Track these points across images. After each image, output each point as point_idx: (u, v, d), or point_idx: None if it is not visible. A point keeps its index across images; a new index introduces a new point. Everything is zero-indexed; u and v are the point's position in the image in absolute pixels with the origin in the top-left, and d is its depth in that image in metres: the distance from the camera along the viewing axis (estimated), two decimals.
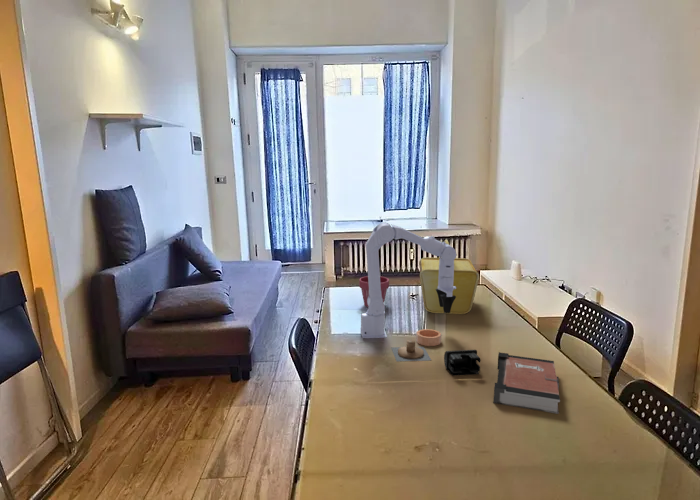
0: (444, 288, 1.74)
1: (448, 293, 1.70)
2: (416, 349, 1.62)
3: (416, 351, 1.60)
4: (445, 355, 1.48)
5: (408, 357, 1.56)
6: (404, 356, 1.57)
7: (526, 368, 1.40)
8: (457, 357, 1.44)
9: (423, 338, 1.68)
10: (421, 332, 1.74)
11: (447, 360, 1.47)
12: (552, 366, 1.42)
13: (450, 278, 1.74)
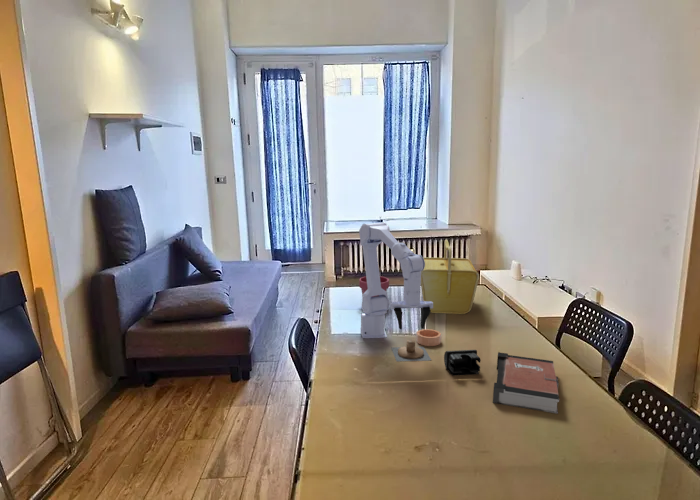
0: (403, 301, 1.58)
1: None
2: (416, 349, 1.62)
3: (416, 350, 1.60)
4: (445, 355, 1.48)
5: (408, 357, 1.56)
6: (404, 356, 1.57)
7: (525, 368, 1.41)
8: (457, 357, 1.44)
9: (423, 338, 1.68)
10: (421, 332, 1.74)
11: (447, 360, 1.47)
12: (551, 366, 1.42)
13: (405, 292, 1.55)
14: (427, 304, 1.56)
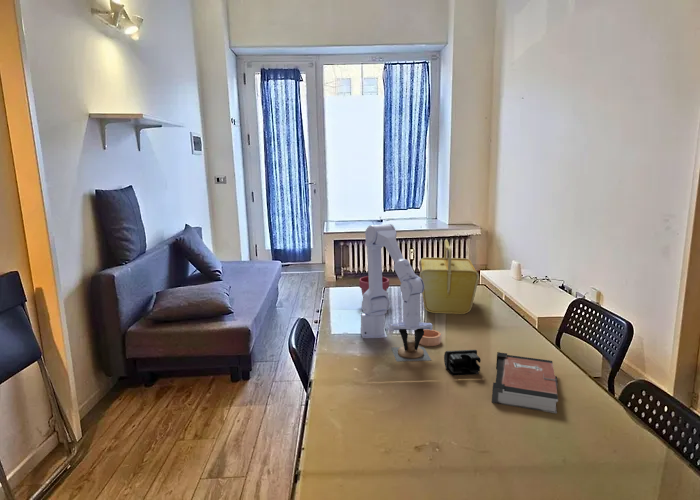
0: (403, 323, 1.59)
1: (390, 326, 1.59)
2: None
3: (416, 350, 1.60)
4: (445, 355, 1.48)
5: (408, 357, 1.56)
6: (404, 356, 1.57)
7: (524, 367, 1.41)
8: (457, 357, 1.44)
9: (423, 338, 1.68)
10: None
11: (447, 360, 1.47)
12: (551, 366, 1.42)
13: (404, 314, 1.56)
14: (426, 326, 1.58)
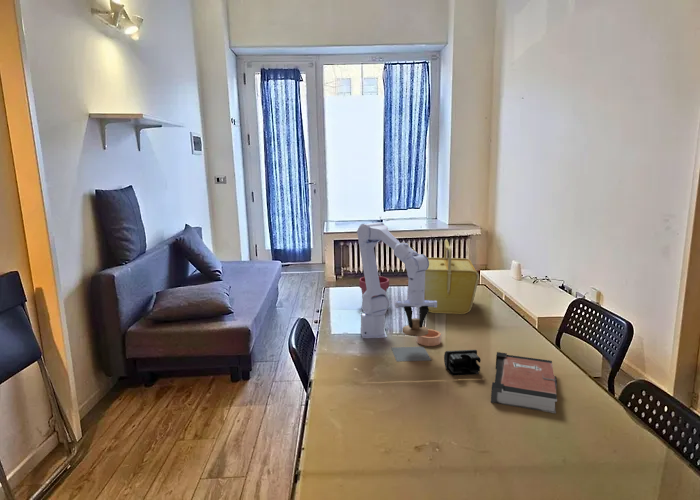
0: (407, 300, 1.61)
1: (395, 303, 1.60)
2: None
3: (421, 329, 1.61)
4: (445, 355, 1.48)
5: (413, 334, 1.57)
6: (409, 333, 1.58)
7: (524, 367, 1.41)
8: (457, 357, 1.44)
9: (423, 338, 1.68)
10: None
11: (447, 360, 1.47)
12: (550, 366, 1.42)
13: (409, 291, 1.58)
14: (431, 303, 1.59)
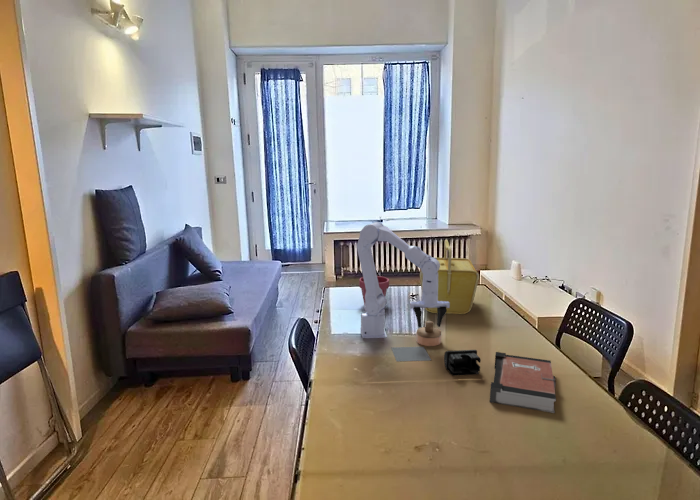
0: (421, 301, 1.70)
1: (410, 304, 1.69)
2: (434, 330, 1.72)
3: (434, 331, 1.71)
4: (445, 355, 1.48)
5: (426, 336, 1.67)
6: (422, 335, 1.67)
7: (523, 367, 1.41)
8: (457, 357, 1.44)
9: (423, 338, 1.68)
10: None
11: (447, 360, 1.47)
12: (549, 366, 1.42)
13: (423, 293, 1.67)
14: (444, 304, 1.68)
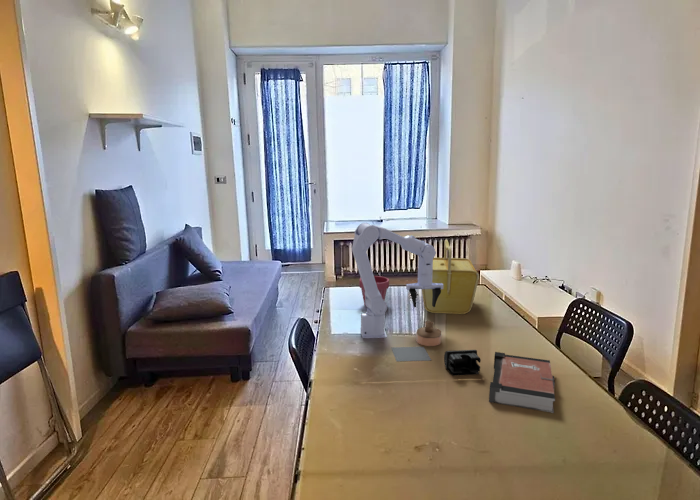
0: (417, 283, 1.82)
1: (406, 285, 1.81)
2: (434, 330, 1.72)
3: (434, 331, 1.71)
4: (445, 355, 1.48)
5: (426, 336, 1.67)
6: (422, 335, 1.67)
7: (522, 367, 1.41)
8: (457, 357, 1.44)
9: (423, 338, 1.68)
10: None
11: (447, 360, 1.47)
12: (548, 365, 1.42)
13: (419, 275, 1.79)
14: (438, 285, 1.80)
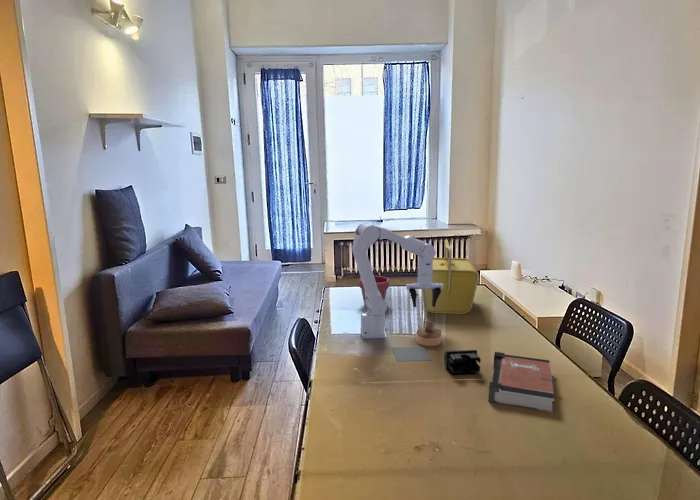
0: (417, 283, 1.82)
1: (406, 285, 1.81)
2: (434, 330, 1.72)
3: (434, 331, 1.71)
4: (445, 355, 1.48)
5: (426, 336, 1.67)
6: (422, 335, 1.67)
7: (521, 367, 1.41)
8: (457, 357, 1.44)
9: (423, 338, 1.68)
10: None
11: (447, 360, 1.47)
12: (548, 365, 1.42)
13: (419, 275, 1.79)
14: (438, 285, 1.80)
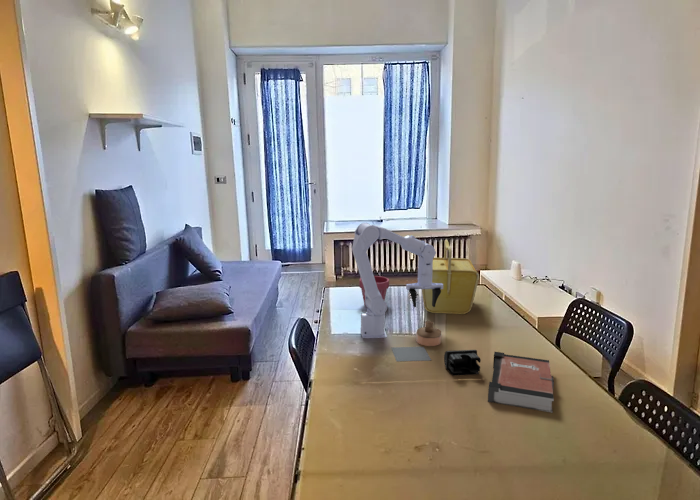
0: (417, 283, 1.82)
1: (406, 285, 1.81)
2: (434, 330, 1.72)
3: (434, 331, 1.71)
4: (445, 355, 1.48)
5: (426, 336, 1.67)
6: (422, 335, 1.67)
7: (521, 367, 1.41)
8: (457, 357, 1.44)
9: (423, 338, 1.68)
10: None
11: (447, 360, 1.47)
12: (547, 365, 1.42)
13: (419, 275, 1.79)
14: (438, 285, 1.80)
